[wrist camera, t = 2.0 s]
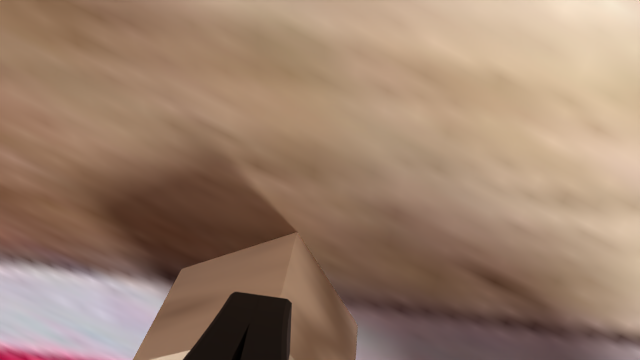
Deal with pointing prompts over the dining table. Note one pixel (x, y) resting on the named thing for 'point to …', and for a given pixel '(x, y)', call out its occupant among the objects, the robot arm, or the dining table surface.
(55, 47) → the dining table surface
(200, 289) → the ash block
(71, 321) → the dining table surface
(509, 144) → the dining table surface
